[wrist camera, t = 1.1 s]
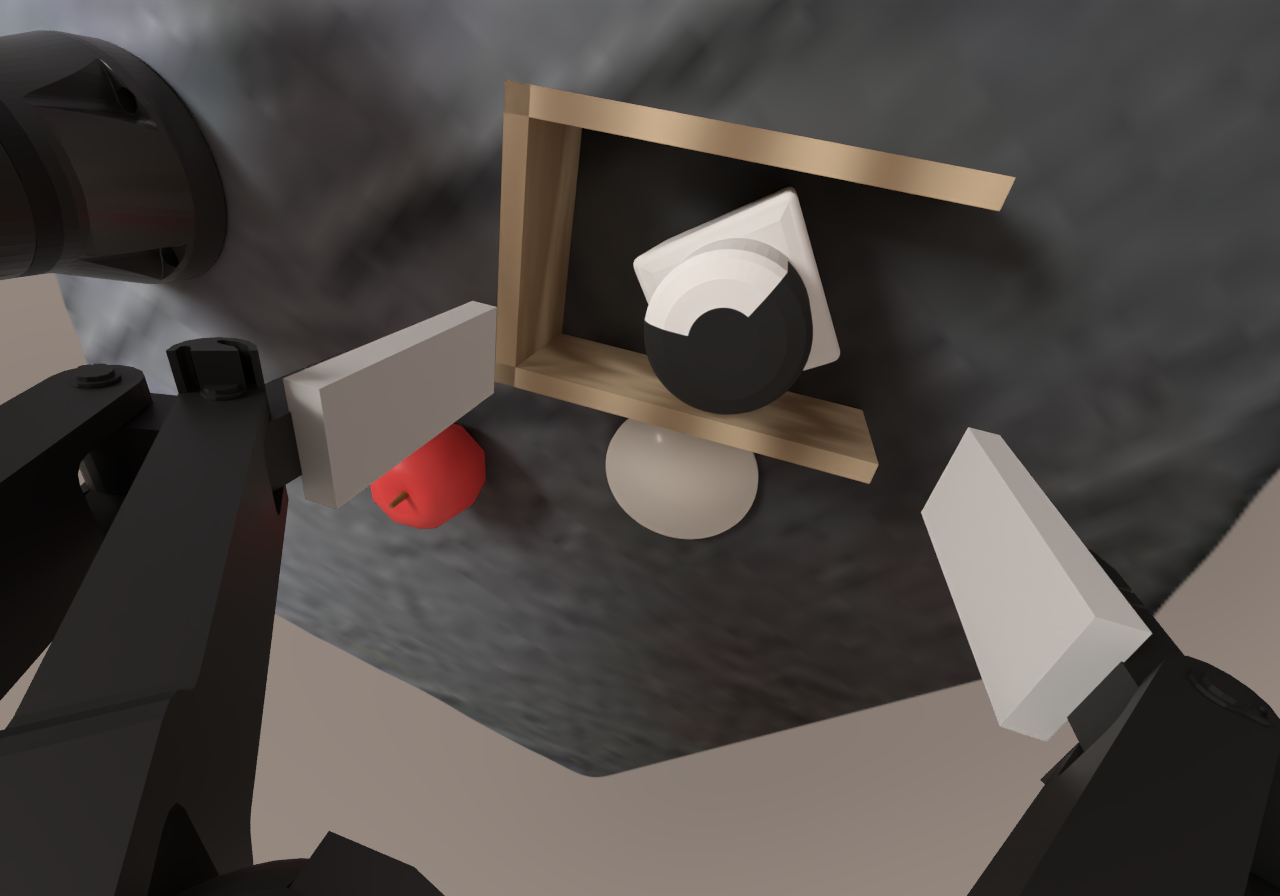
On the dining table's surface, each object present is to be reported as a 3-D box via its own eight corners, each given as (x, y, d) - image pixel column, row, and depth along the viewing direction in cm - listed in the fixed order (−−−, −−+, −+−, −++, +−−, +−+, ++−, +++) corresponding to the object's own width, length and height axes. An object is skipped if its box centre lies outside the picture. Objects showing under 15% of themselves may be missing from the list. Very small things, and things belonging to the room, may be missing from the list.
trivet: (599, 510, 42) (596, 514, 41) (619, 384, 36) (617, 387, 35) (735, 551, 40) (734, 556, 40) (778, 426, 35) (778, 430, 34)
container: (831, 319, 31) (855, 406, 20) (707, 360, 34) (667, 455, 23) (794, 183, 28) (796, 194, 17) (662, 241, 31) (592, 282, 20)
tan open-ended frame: (543, 345, 36) (494, 381, 30) (564, 97, 29) (504, 79, 23) (855, 426, 33) (869, 483, 27) (964, 174, 26) (1015, 177, 20)
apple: (477, 398, 40) (411, 447, 33) (515, 488, 43) (462, 549, 36) (395, 414, 42) (318, 462, 35) (436, 498, 45) (373, 556, 39)
